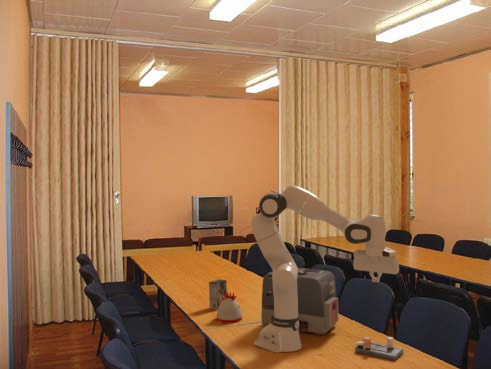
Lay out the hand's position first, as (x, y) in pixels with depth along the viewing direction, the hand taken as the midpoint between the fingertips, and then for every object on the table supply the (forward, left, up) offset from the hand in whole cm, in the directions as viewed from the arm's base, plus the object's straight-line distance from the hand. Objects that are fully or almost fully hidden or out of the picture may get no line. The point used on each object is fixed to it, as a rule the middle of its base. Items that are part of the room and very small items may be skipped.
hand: (375, 281), depth 224 cm
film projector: (-44, +10, -31) cm, 55 cm away
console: (+2, -1, -31) cm, 31 cm away
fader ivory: (+6, +1, -29) cm, 29 cm away
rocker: (-6, -4, -28) cm, 29 cm away
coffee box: (-103, +15, -31) cm, 109 cm away
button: (-6, +1, -29) cm, 29 cm away
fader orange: (-2, -4, -29) cm, 29 cm away
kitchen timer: (-84, +1, -31) cm, 90 cm away
